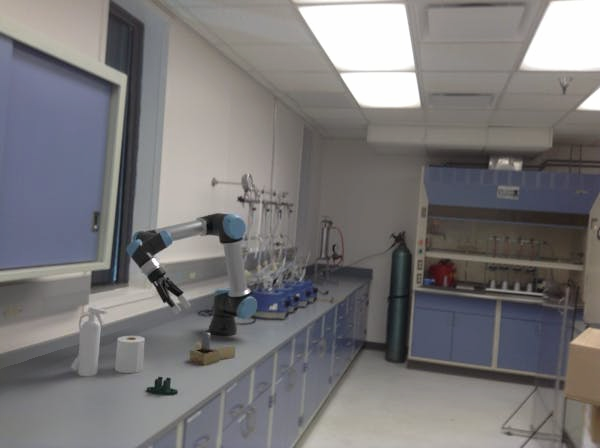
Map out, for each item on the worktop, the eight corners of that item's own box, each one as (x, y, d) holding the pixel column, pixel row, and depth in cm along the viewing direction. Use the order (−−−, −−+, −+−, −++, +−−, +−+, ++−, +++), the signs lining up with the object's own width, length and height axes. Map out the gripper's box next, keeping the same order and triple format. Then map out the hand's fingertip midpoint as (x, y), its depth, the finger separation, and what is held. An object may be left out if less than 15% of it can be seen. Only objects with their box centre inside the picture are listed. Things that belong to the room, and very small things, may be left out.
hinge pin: (204, 359, 227) (206, 331, 227) (210, 361, 225) (212, 333, 225) (198, 360, 225) (200, 332, 224) (203, 362, 222) (206, 334, 222)
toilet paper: (134, 374, 199) (136, 343, 199) (109, 371, 202) (112, 339, 201) (147, 367, 209) (149, 337, 209) (123, 364, 211) (126, 334, 211)
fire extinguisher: (77, 367, 202) (83, 303, 200) (105, 373, 199) (111, 308, 198) (65, 372, 195) (71, 306, 194) (94, 379, 192) (100, 311, 191)
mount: (179, 392, 186) (180, 378, 185) (175, 396, 181) (176, 382, 181) (149, 389, 186) (150, 375, 186) (144, 393, 182) (145, 378, 182)
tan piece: (208, 348, 245) (209, 339, 245) (236, 357, 234) (237, 347, 234) (175, 355, 229) (175, 345, 229) (203, 365, 219) (204, 354, 218)
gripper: (157, 274, 240) (186, 311, 239) (135, 279, 215) (167, 320, 214) (170, 264, 240) (198, 300, 238) (149, 267, 215) (181, 308, 213)
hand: (183, 310), depth 226 cm, fingers open, 13 cm apart
